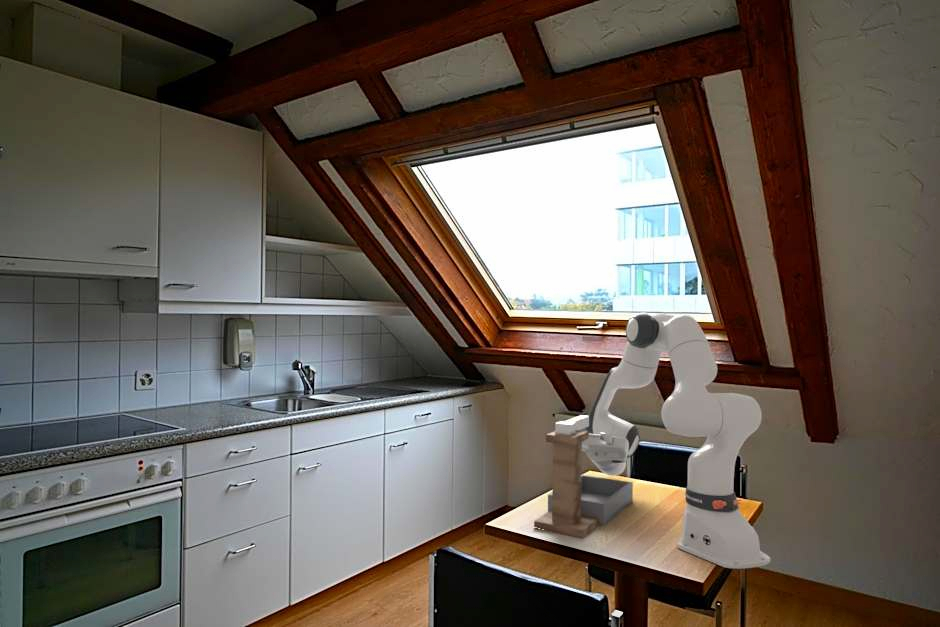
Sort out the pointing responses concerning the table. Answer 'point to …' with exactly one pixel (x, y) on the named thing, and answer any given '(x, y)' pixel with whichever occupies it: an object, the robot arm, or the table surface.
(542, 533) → the table surface
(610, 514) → the parts tray
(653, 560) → the table surface
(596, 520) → the stand
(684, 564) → the table surface
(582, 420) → the white bar
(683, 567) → the table surface
